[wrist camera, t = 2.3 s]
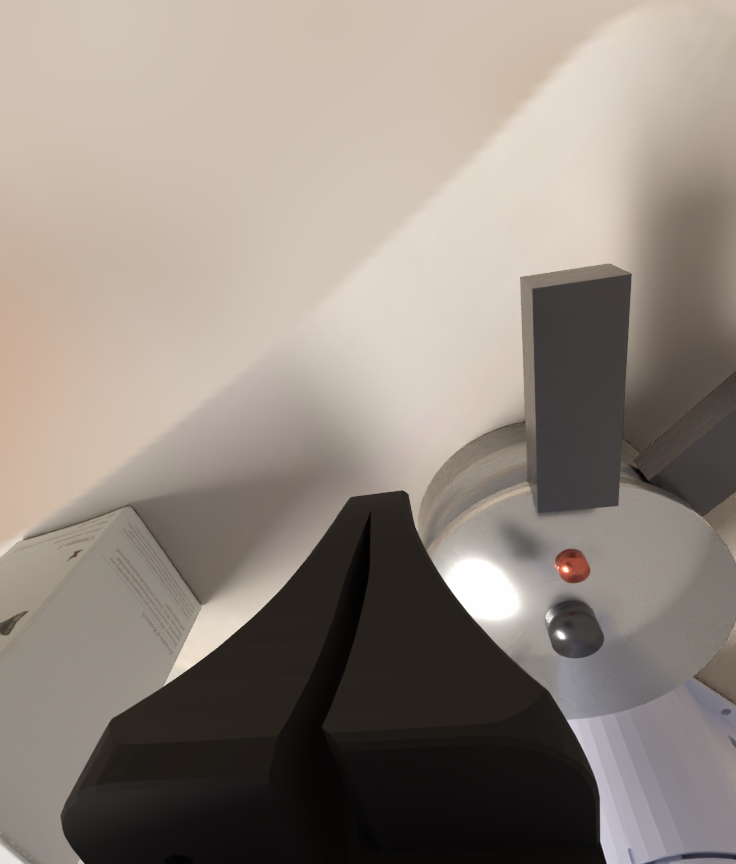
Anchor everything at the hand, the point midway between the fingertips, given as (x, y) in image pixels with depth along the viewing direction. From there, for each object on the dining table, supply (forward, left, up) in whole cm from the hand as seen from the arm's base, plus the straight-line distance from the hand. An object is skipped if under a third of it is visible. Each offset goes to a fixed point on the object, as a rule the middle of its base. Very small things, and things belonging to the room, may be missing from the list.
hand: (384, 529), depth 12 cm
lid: (-7, 0, -6) cm, 9 cm away
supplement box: (+5, +18, -11) cm, 22 cm away
